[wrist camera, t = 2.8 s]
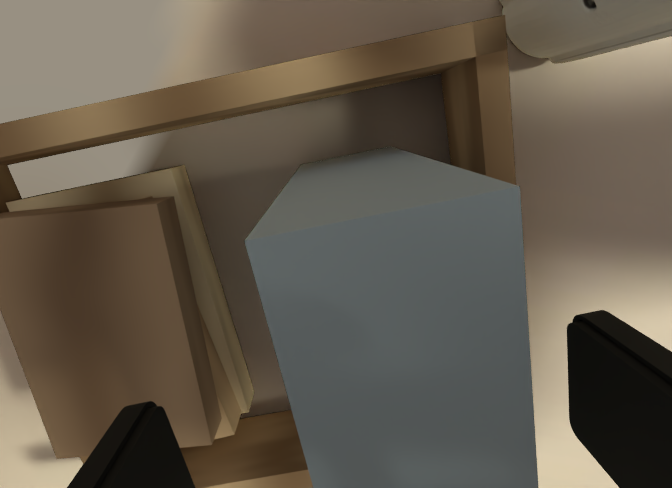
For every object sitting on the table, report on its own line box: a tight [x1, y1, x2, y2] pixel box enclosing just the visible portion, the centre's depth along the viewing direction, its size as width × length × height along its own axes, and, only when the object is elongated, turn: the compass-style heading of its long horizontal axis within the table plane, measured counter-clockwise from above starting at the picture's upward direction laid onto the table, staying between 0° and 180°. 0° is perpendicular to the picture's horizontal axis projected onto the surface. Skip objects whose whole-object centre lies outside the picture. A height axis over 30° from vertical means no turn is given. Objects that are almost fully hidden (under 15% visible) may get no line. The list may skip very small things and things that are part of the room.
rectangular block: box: [244, 146, 538, 488], centre depth 13 cm, size 4×10×12 cm, turn 11°
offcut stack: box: [0, 165, 254, 459], centre depth 17 cm, size 8×12×4 cm, turn 11°
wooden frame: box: [0, 15, 516, 488], centre depth 17 cm, size 21×17×4 cm
